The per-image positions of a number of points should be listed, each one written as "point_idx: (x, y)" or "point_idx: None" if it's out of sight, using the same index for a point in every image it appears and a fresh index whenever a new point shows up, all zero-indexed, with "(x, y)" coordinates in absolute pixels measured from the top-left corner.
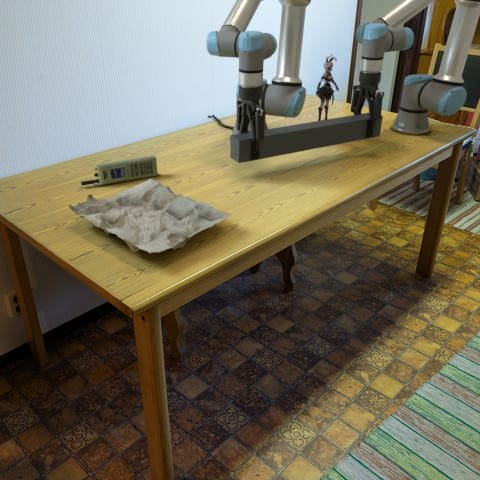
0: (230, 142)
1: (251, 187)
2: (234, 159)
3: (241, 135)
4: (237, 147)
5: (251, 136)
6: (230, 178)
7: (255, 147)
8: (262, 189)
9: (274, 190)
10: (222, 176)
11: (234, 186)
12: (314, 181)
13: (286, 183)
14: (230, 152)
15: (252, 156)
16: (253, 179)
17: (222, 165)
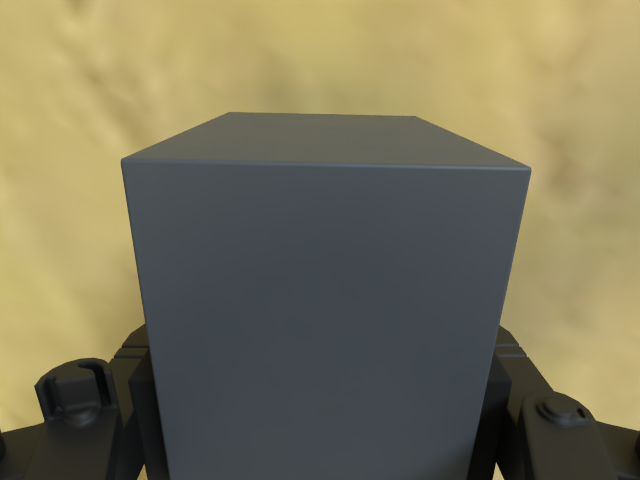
0: (470, 142)
1: (121, 125)
2: (323, 115)
3: (387, 346)
4: (230, 135)
5: (251, 449)
6: (334, 73)
7: (137, 348)
8: (65, 174)
9: (28, 231)
10: (400, 36)
11: (182, 18)
12: None
13: (109, 340)
14: (427, 123)
15: None
16: None
17: (581, 150)
